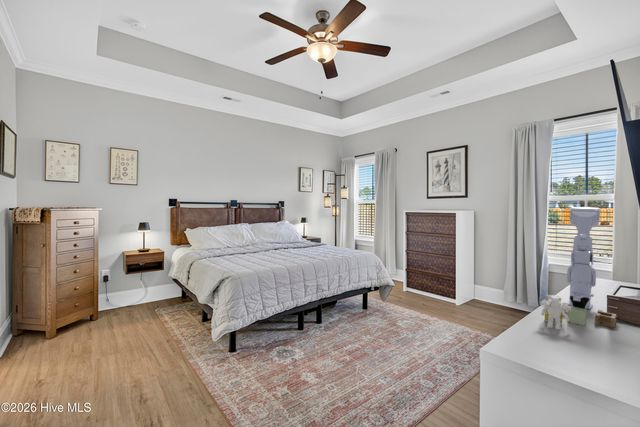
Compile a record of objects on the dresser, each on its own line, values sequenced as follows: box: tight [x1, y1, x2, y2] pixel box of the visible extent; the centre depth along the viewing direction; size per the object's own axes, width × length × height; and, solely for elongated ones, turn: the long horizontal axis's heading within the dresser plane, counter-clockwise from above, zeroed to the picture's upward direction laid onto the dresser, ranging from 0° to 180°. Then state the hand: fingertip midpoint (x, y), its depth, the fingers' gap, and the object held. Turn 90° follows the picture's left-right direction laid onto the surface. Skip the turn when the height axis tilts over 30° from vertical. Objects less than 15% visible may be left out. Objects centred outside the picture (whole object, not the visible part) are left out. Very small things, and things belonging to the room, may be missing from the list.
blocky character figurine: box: [539, 293, 571, 331], centre depth 112 cm, size 9×4×12 cm, turn 43°
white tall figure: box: [544, 294, 564, 325], centre depth 118 cm, size 5×5×10 cm
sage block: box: [566, 305, 588, 326], centre depth 118 cm, size 5×5×5 cm
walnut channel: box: [561, 302, 617, 328], centre depth 122 cm, size 10×16×4 cm, turn 43°
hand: (578, 315), depth 121 cm, fingers closed
